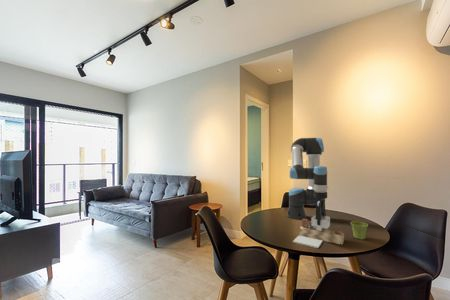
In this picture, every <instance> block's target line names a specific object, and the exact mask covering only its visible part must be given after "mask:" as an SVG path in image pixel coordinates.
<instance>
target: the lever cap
mask: <svg viewBox="0 0 450 300" xmlns="http://www.w3.org/2000/svg"><path fill="white" fill-rule="evenodd" d="M315 218H316V214H313V215H312V217H311V220H310V221H311V225H312V226H313V227H315V228H317V219H315ZM321 220H322V229H325V230H329V227H330V226H331V217H330V216H328V215H326V216H321Z"/></svg>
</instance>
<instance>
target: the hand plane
mask: <svg viewBox="0 0 450 300" xmlns="http://www.w3.org/2000/svg"><path fill="white" fill-rule="evenodd" d="M301 221H302V222H301V226H300V227H299V236H304V237H309V238H313V239H318V240H322V241H323V242H327V243H332V244H337V245H340V244H341V246H343V244H344V241H345V240H344V239H345V234H344V232H342V227H341V226H340V225H335V226H334V230H330V229H326V228H322V231H319V230H317V227H315V226H312V225H311V220H310V221H309V219H307V218H305V219H301Z"/></svg>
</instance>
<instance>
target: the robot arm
mask: <svg viewBox="0 0 450 300" xmlns="http://www.w3.org/2000/svg"><path fill="white" fill-rule="evenodd" d="M324 152H325V145H324V141H323V138H321V137H301V138H298V139H296V140H295V141H293V142H292V144H291V146H290V153H291V156H292V158H291V162H292V163H291V164H292V166H291V167H289V178H290V179H292V180H308V186H307V187H306V189H305V188H303V187H295V188H290V189H289V191H288V209H287V212H286V217H287V218H289V219H293V220H302V219H307V213H306V211H305V206H306V205H307V206H309V205H310V206H315V215H316V218H315V219H317V227H316V228H317V230H319V231H322V229H323V228H322V220H321V216H327V213H326V199H327V198H328V188H329V186H328V168H327V166H323V165H321V164H320V163H321V161H320V160H321V159H320V158H321V156H322V154H323V153H324ZM303 153H305V154H306V156H307V158H308V160H307V161H308V166H307V167H304V159H303Z"/></svg>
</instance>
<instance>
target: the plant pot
mask: <svg viewBox="0 0 450 300" xmlns="http://www.w3.org/2000/svg"><path fill="white" fill-rule="evenodd" d="M349 223H350V225H351V228H352V233H353V238H355V239H359V240H365V239H366V236H367V229H368V227H369V224H368V223H366V222H363V221H350V222H349Z"/></svg>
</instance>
